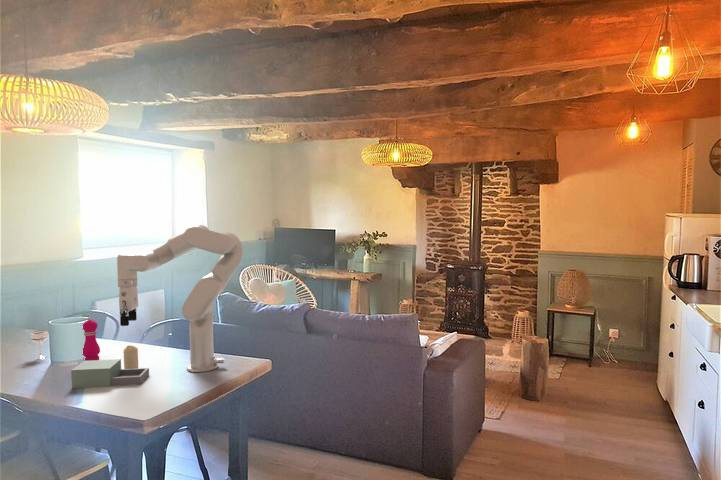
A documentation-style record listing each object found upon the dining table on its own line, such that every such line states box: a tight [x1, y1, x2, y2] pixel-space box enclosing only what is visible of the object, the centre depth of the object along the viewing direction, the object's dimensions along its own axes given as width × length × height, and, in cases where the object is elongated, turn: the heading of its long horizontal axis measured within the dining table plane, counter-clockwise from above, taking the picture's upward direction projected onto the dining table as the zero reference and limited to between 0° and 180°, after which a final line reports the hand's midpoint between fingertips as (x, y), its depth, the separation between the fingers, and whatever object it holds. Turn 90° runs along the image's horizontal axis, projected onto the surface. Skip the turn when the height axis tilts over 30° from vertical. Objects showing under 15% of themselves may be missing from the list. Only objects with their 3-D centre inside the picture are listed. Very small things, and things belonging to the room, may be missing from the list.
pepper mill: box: [82, 316, 101, 361], centre depth 229 cm, size 7×7×20 cm
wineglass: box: [30, 329, 49, 360], centre depth 235 cm, size 7×7×12 cm
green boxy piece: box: [70, 358, 150, 389], centre depth 201 cm, size 25×12×7 cm, turn 96°
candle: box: [123, 344, 139, 369], centre depth 217 cm, size 6×6×10 cm
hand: (128, 323), depth 216 cm, fingers open, 9 cm apart
